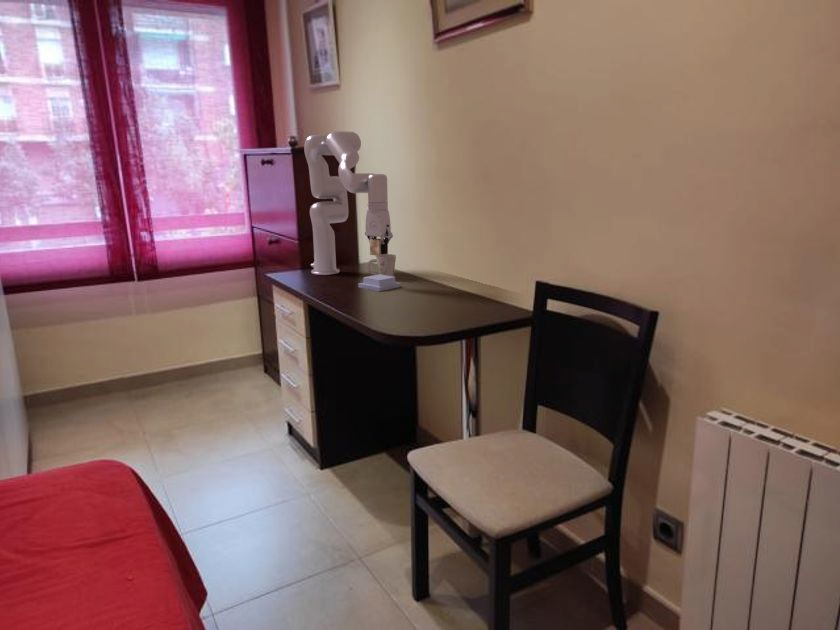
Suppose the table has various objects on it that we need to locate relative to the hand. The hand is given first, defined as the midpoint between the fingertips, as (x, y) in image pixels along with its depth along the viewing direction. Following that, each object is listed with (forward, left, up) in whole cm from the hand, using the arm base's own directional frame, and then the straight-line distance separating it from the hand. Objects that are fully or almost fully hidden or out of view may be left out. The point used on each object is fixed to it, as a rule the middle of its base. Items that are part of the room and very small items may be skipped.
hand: (379, 252), depth 233 cm
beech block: (0, 0, -1) cm, 1 cm away
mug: (-12, +13, -14) cm, 23 cm away
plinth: (0, 0, -14) cm, 14 cm away
